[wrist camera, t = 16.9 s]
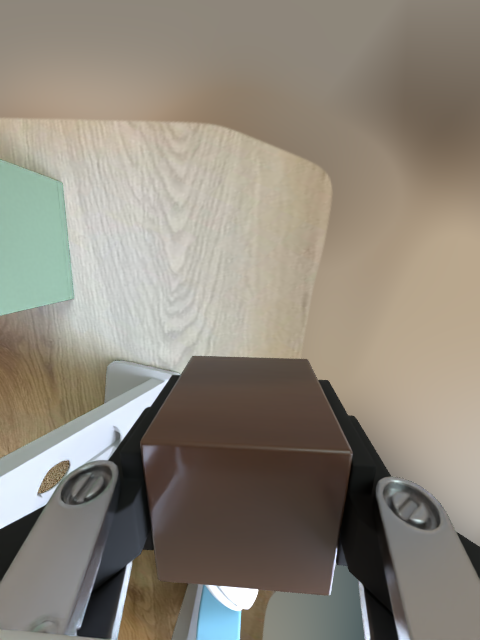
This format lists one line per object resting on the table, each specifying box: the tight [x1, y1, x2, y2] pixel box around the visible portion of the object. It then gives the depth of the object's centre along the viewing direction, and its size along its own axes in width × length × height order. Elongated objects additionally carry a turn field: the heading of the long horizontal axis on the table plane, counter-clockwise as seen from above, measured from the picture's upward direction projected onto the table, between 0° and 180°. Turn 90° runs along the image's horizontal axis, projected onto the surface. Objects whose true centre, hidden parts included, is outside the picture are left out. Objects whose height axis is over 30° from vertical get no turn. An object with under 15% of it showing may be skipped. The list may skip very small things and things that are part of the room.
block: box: [140, 356, 353, 595], centre depth 8 cm, size 4×4×4 cm
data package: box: [196, 585, 241, 640], centre depth 32 cm, size 12×4×12 cm, turn 178°
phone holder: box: [0, 360, 180, 529], centre depth 24 cm, size 17×10×18 cm, turn 168°
